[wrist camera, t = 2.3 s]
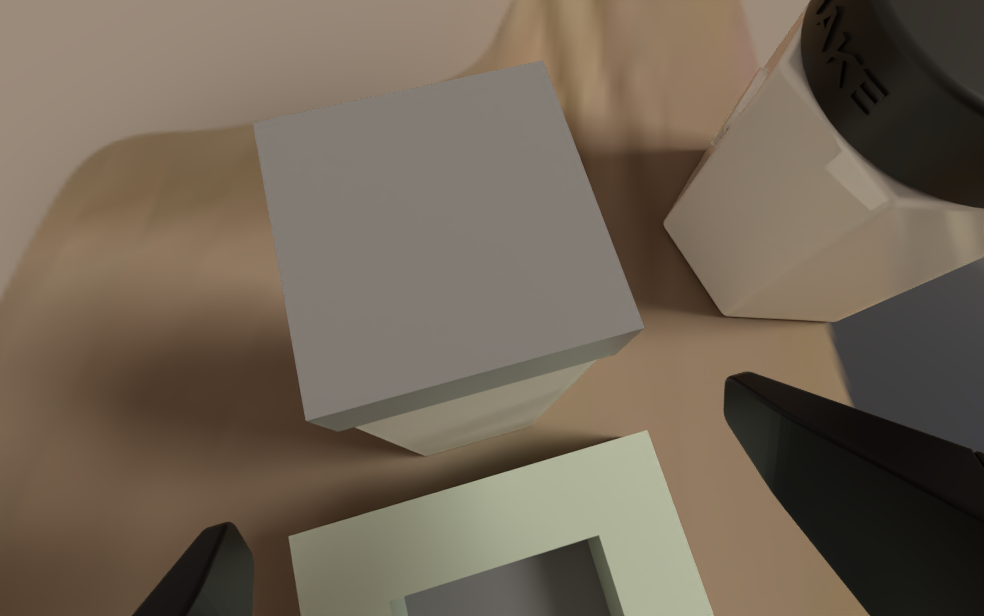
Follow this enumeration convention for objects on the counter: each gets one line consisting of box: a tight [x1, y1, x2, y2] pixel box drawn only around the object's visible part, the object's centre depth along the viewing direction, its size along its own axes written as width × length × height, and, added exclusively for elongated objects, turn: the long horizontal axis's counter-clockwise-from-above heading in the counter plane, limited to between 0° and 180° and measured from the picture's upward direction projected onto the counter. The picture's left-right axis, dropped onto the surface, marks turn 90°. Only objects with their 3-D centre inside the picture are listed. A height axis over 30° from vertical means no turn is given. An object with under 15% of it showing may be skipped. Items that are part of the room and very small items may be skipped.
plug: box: [253, 60, 645, 456], centre depth 14 cm, size 4×4×14 cm
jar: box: [663, 0, 984, 322], centre depth 17 cm, size 9×8×12 cm
